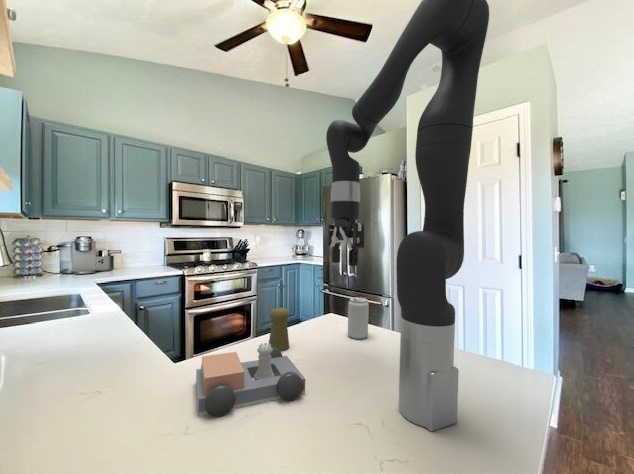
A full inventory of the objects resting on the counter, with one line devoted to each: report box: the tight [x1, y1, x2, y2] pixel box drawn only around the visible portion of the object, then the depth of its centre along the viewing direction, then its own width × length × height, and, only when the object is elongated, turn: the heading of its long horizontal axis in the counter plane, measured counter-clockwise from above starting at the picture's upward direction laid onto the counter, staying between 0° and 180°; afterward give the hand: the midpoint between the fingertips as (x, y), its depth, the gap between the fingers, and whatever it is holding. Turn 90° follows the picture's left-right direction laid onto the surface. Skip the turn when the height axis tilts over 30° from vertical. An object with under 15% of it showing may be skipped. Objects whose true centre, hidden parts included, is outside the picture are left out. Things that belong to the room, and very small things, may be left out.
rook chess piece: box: [254, 342, 275, 380], centre depth 62 cm, size 4×4×8 cm
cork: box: [268, 307, 290, 353], centre depth 83 cm, size 6×6×11 cm
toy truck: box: [195, 347, 306, 418], centre depth 61 cm, size 15×20×6 cm
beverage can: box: [347, 296, 370, 340], centre depth 94 cm, size 6×6×12 cm
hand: (343, 264), depth 76 cm, fingers open, 8 cm apart
